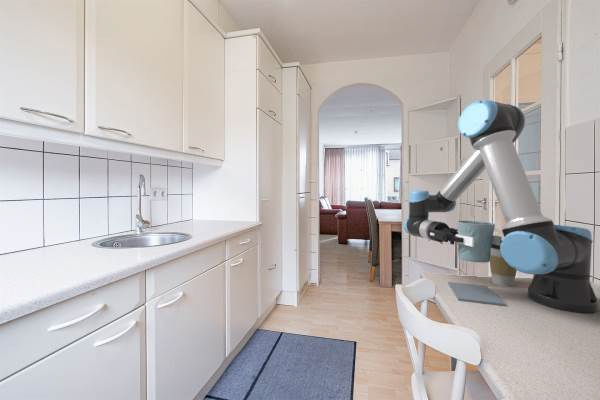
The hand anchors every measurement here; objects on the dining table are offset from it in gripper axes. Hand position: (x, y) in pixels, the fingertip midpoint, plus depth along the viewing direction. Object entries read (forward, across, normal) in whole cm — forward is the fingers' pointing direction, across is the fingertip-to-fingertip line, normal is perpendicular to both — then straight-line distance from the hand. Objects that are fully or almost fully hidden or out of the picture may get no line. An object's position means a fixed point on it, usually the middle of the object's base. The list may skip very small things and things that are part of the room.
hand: (487, 241), depth 83 cm
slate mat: (-4, 0, -18) cm, 18 cm away
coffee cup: (-10, -19, -18) cm, 28 cm away
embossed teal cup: (-4, 0, -7) cm, 8 cm away
